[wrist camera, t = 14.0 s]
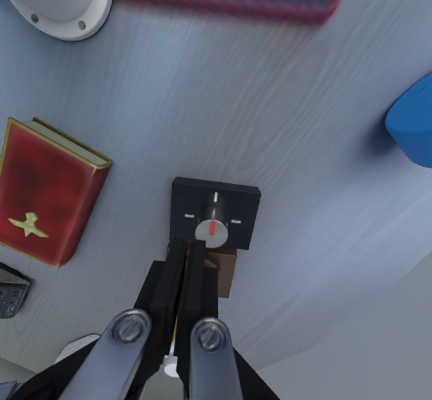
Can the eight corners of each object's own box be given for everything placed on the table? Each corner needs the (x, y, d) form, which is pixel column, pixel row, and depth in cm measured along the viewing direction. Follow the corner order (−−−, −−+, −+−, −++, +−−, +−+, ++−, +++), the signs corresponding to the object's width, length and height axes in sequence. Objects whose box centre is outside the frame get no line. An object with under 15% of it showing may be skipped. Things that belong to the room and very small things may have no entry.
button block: (168, 282, 40) (162, 298, 36) (170, 240, 36) (164, 254, 32) (228, 289, 40) (228, 306, 36) (236, 248, 36) (237, 262, 33)
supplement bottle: (175, 328, 45) (164, 380, 36) (170, 311, 43) (156, 362, 34) (199, 326, 44) (193, 379, 36) (195, 309, 42) (187, 360, 33)
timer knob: (224, 232, 32) (225, 251, 27) (197, 229, 31) (193, 247, 27) (229, 207, 30) (230, 223, 25) (200, 203, 30) (196, 218, 25)
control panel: (173, 230, 35) (169, 241, 32) (176, 176, 31) (171, 182, 28) (246, 239, 36) (248, 250, 33) (257, 187, 32) (261, 194, 29)
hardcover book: (114, 162, 31) (98, 168, 27) (74, 255, 38) (57, 271, 34) (35, 117, 29) (6, 117, 25) (9, 225, 36) (-17, 238, 32)
